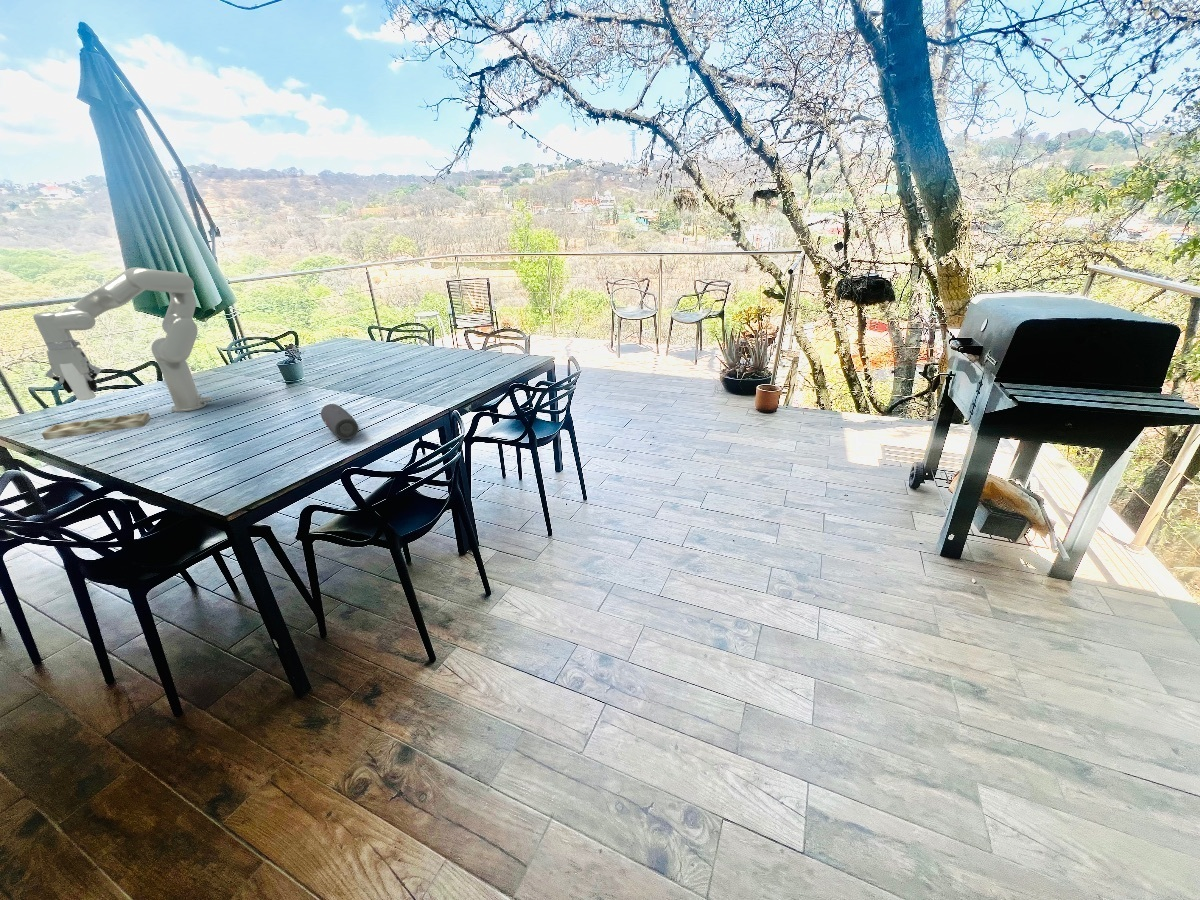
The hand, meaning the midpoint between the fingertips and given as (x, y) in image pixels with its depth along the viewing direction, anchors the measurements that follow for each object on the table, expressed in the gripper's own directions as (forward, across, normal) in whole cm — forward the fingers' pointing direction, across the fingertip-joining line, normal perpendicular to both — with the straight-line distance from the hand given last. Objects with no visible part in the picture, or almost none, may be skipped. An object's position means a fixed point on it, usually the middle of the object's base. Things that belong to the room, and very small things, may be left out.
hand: (82, 390), depth 189 cm
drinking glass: (+4, 0, 0) cm, 4 cm away
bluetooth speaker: (+16, -87, +55) cm, 104 cm away
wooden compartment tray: (+16, 0, 0) cm, 16 cm away
